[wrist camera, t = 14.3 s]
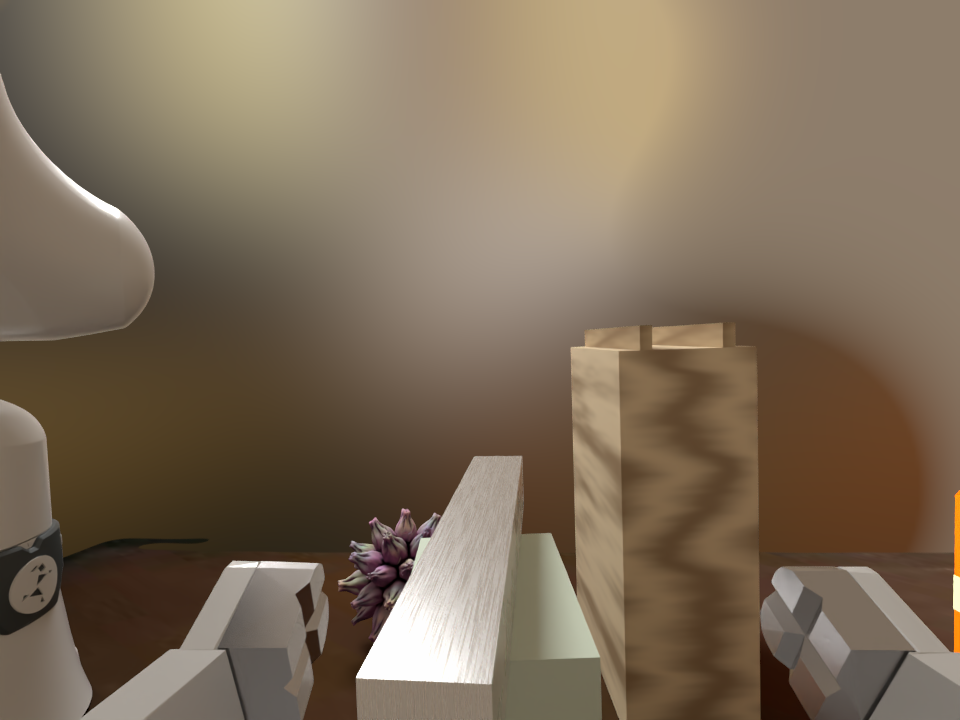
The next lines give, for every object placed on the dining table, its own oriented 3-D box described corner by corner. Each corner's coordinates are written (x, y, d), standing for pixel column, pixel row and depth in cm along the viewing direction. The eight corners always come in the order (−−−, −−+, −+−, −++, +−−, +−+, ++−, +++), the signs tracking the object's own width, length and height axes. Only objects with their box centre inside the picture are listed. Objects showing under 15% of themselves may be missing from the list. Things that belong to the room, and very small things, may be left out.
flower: (436, 702, 37) (430, 545, 37) (313, 663, 42) (307, 525, 42) (496, 621, 48) (492, 498, 47) (392, 597, 53) (387, 486, 52)
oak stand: (627, 739, 33) (618, 326, 32) (577, 609, 49) (570, 330, 48) (760, 733, 33) (756, 321, 32) (668, 606, 49) (663, 327, 48)
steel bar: (496, 819, 13) (361, 809, 13) (523, 503, 36) (475, 503, 37) (491, 684, 12) (355, 677, 13) (522, 455, 36) (474, 456, 37)
